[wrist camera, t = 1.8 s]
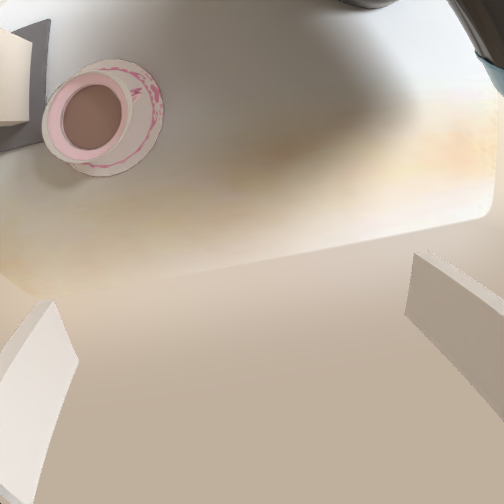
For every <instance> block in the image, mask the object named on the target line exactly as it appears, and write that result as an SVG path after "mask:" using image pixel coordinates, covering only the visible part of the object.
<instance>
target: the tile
mask: <svg viewBox="0 0 504 504" xmlns="http://www.w3.org/2000/svg"><path fill="white" fill-rule="evenodd" d="M31 53H32V42H30V41H27V40H25V39H23V38H21V37H19V36H17V35H14V34H12V33H10V32H8V31H5V30H3V29H1V28H0V126H14V125H17V124H21V123H24V122H28V121H29V84H30V65H31Z"/></svg>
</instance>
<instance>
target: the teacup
mask: <svg viewBox="0 0 504 504" xmlns="http://www.w3.org/2000/svg"><path fill="white" fill-rule="evenodd" d="M163 111H164V106H163V101H162V97H161V92H160V89H159V87H158V86H157V84H156V83H155V81H154V80H153V78H152V76H151V75H150V74H149V73H148V72H146V71H145V70H144V69H142V68H141V67H140V66H138V65H137V64H135V63H131V62H128V61H124V60H121V59H113V60H101V61H99V62H96V63H94V64H91V65H89V66H86V67H84V68H83V69H82V70H80V71H79V72H78V73H76V74H75V75H74V76H73V77H71V78H69V79H68V80H66V81H65V82H64V83H63V84H62V85H61V86H59V88H58V89H57V90H56V91H55V92H54V93H53V95H52V96H51V98H50V99H49V101H48V103H47V105H46V108H45V111H44V114H43V118H42V135H43V139H44V142H45V144H46V146H47V148H48V149H49V151H50V152H51V153H52V154H53V155H54V156H56V157H57V158H59V159H60V160H63V161H65V162H67V163H68V164H69V165H70V166H71V167H73V168H74V169H75V170H76V171H79V172H82V173H85V174H87V175H90V176H112V175H115V174H118V173H121V172H124V171H127V170H128V169H130V168H131V167H133V166H134V165H135V164H137V163H138V162H140V161H141V160H142V159H143V158H144V157H145V156H146V154H147V153H148V152H149V151H150V149H151V148H152V147H153V146H154V144H155V142H156V140H157V137H158V135H159V132H160V130H161V127H162V121H163Z"/></svg>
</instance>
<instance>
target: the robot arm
mask: <svg viewBox="0 0 504 504" xmlns="http://www.w3.org/2000/svg"><path fill="white" fill-rule="evenodd" d="M340 1H342V2H344V3H347V4H350V5H354V6H358V7H363V8H381V7H385V6H388V5H390V4H392V3H394V2H396V1H398V0H340ZM447 1H448V3H449V4H450V6H451V8H452V9H453V11H454V12H455V14H456V16H457V17H458V19H459V21H460V22H461V24H462V26H463V27H464V29H465V31H466V33H467V34H468V36H469V38H470V40H471V42H472V44H473V46H474V48H475V53H476V56H477V58H478V59H479V60H480V61H481V62H482V63H483V65H484V67H485V69H486V71H487V73H488V74H489V76H490V78H491V81H492V83H493V85H494V86H495V88H496V89H497V91H498V92H499V93H500V94H501V95H502V96H503V97H504V0H447ZM405 316H406V317H407V318H408V319H409V320H410V321H411V322H412V323H413V324H414V325H415V326H416V327H417V328H418V329H419V330H420V331H421V332H422V333H423V334H424V335H425V336H426V337H427V338H428V339H429V340H430V341H431V342H432V343H433V344H434V345H435V346H436V347H437V348H438V349H439V350H440V351H441V352H442V354H443V355H444V356H446V358H447V359H448V360H449V361H450V362H451V363H452V364H453V365H454V366H455V367H456V368H457V369H458V371H459V372H460V373H461V374H462V375H463V376H464V377H465V378H466V379H467V380H468V381H469V382H470V384H471V385H472V386H473V387H474V388H475V389H476V390H477V391H478V392H479V394H480V395H481V396H482V397H483V398H484V399H485V400H486V402H487V403H488V404H489V405H490V406H491V407H492V408H493V410H494V411H495V412H496V413H497V414H498V415H499V417H500V418H501V419H502V420H503V421H504V300H503V299H502V298H500V297H499V296H497V295H496V294H494V293H493V292H491V291H490V290H489V289H487V288H485V287H484V286H483V285H481V284H480V283H479V282H477V281H475V280H474V279H472V278H471V277H470V276H468V275H467V274H465V273H464V272H462V271H460V270H459V269H457V268H456V267H454V266H453V265H451V264H450V263H448V262H446V261H445V260H443V259H442V258H440V257H439V256H437V255H435V254H434V253H432V252H430V251H423V252H416V253H414V258H413V265H412V272H411V279H410V286H409V292H408V298H407V304H406V309H405ZM78 363H79V360H78V358H77V355H76V353H75V351H74V349H73V346H72V344H71V342H70V339H69V337H68V334H67V332H66V329H65V327H64V325H63V322H62V319H61V317H60V314H59V311H58V309H57V306H56V303H55V300H45V301H38V302H37V303H36V304H35V305H34V307H33V308H32V309H31V310H30V312H29V313H28V314H27V316H26V317H25V318H24V320H23V321H22V322H21V324H20V325H19V326H18V328H17V329H16V330H15V332H14V333H13V335H12V336H11V337H10V339H9V340H8V342H7V343H6V344H5V346H4V347H3V349H2V350H1V352H0V495H2V496H3V497H4V498H5V499H6V500H8V501H9V502H10V503H11V504H33V501H34V497H35V493H36V489H37V485H38V481H39V477H40V474H41V470H42V466H43V463H44V459H45V456H46V453H47V449H48V446H49V443H50V440H51V436H52V433H53V430H54V427H55V424H56V422H57V419H58V416H59V413H60V410H61V407H62V405H63V402H64V399H65V396H66V394H67V391H68V388H69V386H70V383H71V381H72V378H73V376H74V373H75V371H76V368H77V365H78ZM0 504H1V503H0Z"/></svg>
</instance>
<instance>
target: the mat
mask: <svg viewBox="0 0 504 504" xmlns="http://www.w3.org/2000/svg"><path fill="white" fill-rule="evenodd" d="M50 24H51V20H50V19H46V20H43V21H40V22H37V23H34V24H32V25H29V26H26V27H24V28H21V29H18V30H16V31H13V32H11V33H12V34H14V35H17V36H19V37H21V38H23V39H25V40H27V41H30V42H32V53H31V65H30V84H29V121H28V122H24V123H21V124H17V125H14V126H0V152H3V151H7V150H10V149H14V148H18V147H22V146H26V145H31V144H35V143H39V142H44V139H43V135H42V118H43V114H44V111H45V89H46V65H47V51H48V41H49V32H50Z"/></svg>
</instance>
